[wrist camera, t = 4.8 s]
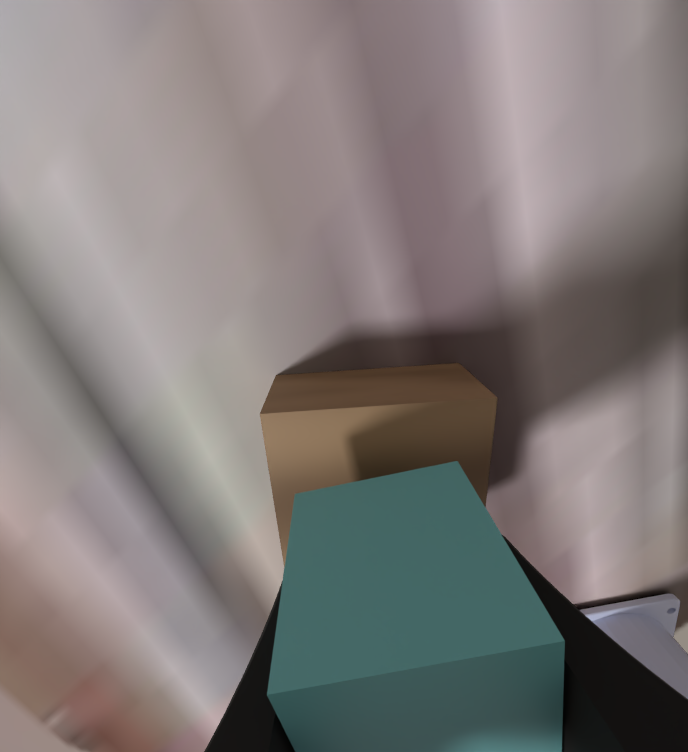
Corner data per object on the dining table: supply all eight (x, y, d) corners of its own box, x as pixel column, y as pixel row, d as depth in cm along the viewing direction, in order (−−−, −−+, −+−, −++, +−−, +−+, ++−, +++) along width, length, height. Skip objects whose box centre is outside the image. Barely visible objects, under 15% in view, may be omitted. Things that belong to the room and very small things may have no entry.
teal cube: (470, 578, 12) (560, 790, 7) (331, 604, 12) (333, 827, 8) (457, 460, 10) (564, 641, 6) (294, 493, 10) (267, 694, 6)
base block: (447, 504, 18) (478, 571, 14) (296, 515, 18) (287, 586, 14) (456, 360, 15) (497, 397, 12) (277, 372, 15) (259, 413, 11)
